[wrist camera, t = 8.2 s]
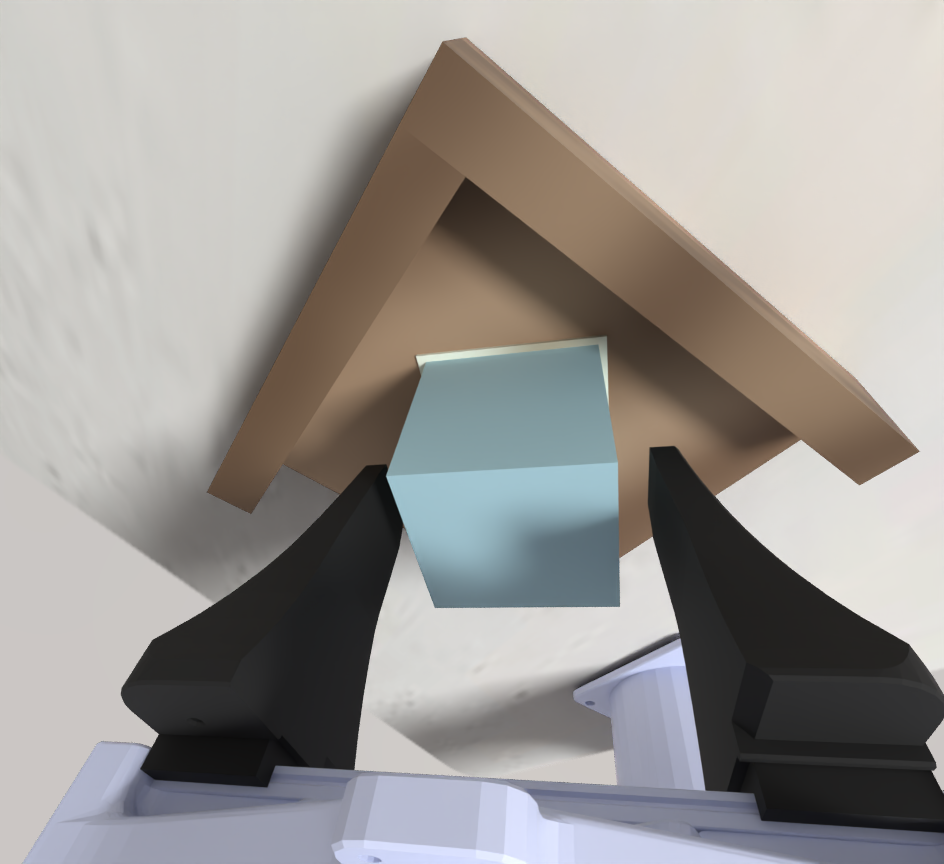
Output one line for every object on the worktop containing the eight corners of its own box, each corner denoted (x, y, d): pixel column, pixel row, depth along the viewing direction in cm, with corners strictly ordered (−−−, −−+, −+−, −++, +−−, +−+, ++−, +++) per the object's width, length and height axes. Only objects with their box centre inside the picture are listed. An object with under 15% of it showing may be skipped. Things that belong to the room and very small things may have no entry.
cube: (598, 344, 15) (617, 462, 11) (603, 476, 18) (619, 606, 14) (426, 362, 16) (385, 476, 12) (458, 484, 18) (434, 608, 15)
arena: (856, 379, 15) (919, 451, 13) (547, 589, 23) (548, 660, 21) (466, 37, 11) (442, 41, 9) (252, 429, 19) (207, 492, 17)
